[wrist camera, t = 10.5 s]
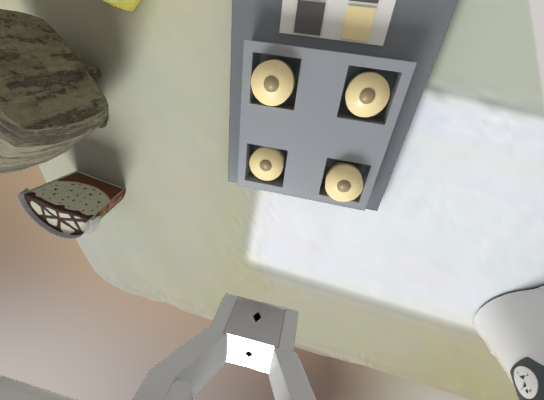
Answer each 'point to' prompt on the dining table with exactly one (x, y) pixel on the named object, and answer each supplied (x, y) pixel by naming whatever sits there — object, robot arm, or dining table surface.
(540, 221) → the dining table surface
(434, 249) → the dining table surface
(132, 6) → the chocolate bunny
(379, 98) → the button
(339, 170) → the button
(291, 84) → the button
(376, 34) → the board
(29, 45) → the tabletop clock
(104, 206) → the food container
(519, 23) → the dining table surface
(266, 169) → the button
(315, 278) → the dining table surface
